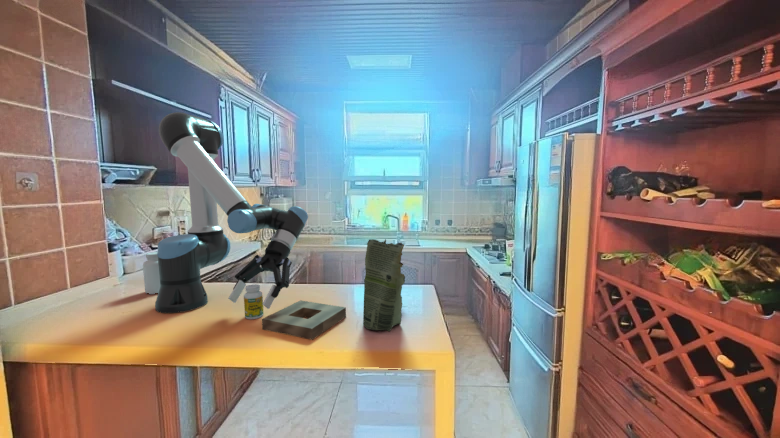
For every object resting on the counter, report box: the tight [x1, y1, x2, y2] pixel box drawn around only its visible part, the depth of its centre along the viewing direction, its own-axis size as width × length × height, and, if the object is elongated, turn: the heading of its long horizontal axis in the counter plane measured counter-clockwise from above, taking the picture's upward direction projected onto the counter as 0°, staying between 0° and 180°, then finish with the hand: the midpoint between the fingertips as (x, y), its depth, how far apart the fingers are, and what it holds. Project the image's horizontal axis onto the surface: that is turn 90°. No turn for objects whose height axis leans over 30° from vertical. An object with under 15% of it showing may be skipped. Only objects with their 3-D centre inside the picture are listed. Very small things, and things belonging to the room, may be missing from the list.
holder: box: [261, 299, 347, 341], centre depth 101 cm, size 17×17×3 cm
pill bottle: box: [142, 251, 160, 295], centre depth 132 cm, size 8×8×15 cm
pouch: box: [362, 238, 406, 332], centre depth 98 cm, size 11×12×25 cm
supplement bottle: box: [243, 283, 264, 320], centre depth 106 cm, size 5×5×10 cm
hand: (248, 303), depth 104 cm, fingers open, 13 cm apart
